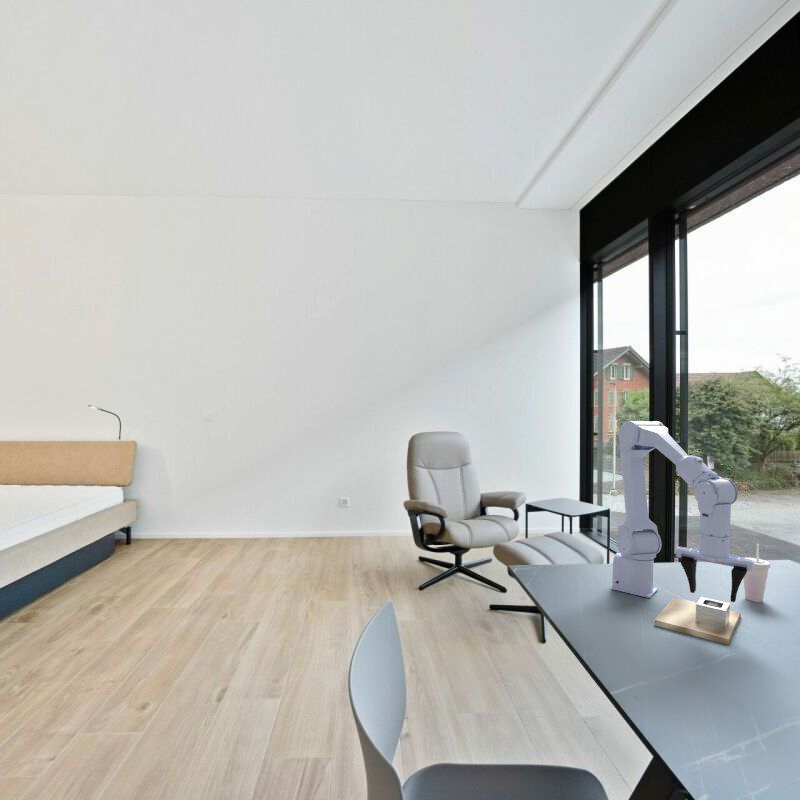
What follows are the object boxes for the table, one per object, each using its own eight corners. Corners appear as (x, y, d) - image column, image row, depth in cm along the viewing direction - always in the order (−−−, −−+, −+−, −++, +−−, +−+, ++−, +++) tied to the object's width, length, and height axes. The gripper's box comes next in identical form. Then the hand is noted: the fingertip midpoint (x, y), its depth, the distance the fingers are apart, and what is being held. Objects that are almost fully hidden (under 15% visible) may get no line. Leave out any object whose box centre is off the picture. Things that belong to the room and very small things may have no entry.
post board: (654, 625, 118) (655, 601, 118) (673, 601, 132) (674, 580, 132) (728, 644, 109) (729, 619, 109) (740, 617, 123) (741, 595, 123)
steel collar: (695, 622, 117) (695, 603, 117) (700, 614, 121) (701, 596, 121) (725, 629, 114) (725, 610, 113) (729, 621, 118) (729, 603, 118)
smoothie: (774, 605, 131) (775, 548, 131) (745, 602, 132) (746, 546, 132) (762, 595, 137) (763, 541, 137) (734, 593, 139) (736, 539, 138)
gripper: (673, 531, 118) (672, 592, 119) (751, 544, 109) (749, 610, 109) (680, 525, 124) (679, 584, 124) (755, 537, 115) (753, 600, 115)
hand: (712, 596), depth 117 cm, fingers open, 7 cm apart
